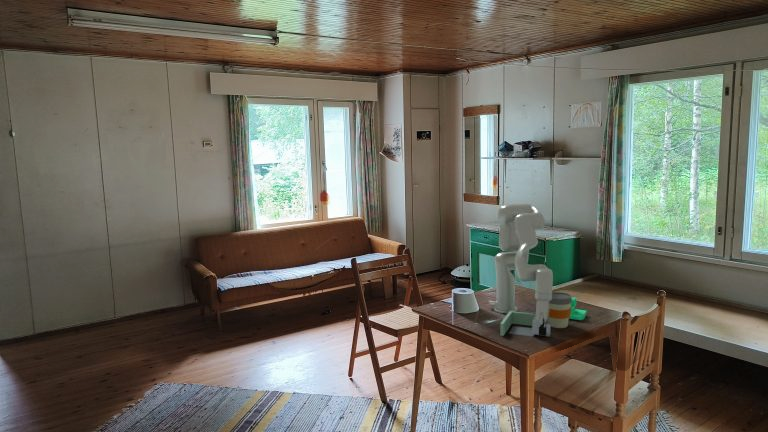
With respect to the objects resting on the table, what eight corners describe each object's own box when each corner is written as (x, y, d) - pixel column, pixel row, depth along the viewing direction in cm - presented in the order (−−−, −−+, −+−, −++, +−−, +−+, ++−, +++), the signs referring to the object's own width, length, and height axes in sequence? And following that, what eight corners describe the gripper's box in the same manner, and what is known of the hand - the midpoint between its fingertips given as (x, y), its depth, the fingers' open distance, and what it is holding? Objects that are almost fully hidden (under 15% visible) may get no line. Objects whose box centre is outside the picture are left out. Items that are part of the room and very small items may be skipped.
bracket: (531, 333, 246) (532, 321, 245) (534, 327, 254) (535, 315, 253) (549, 336, 243) (550, 324, 242) (552, 330, 250) (552, 318, 249)
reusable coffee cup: (577, 327, 256) (577, 297, 254) (554, 330, 252) (554, 300, 250) (561, 319, 268) (561, 290, 266) (539, 322, 264) (539, 293, 262)
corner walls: (500, 335, 248) (500, 323, 247) (509, 322, 266) (509, 310, 265) (534, 340, 241) (534, 327, 241) (541, 326, 259) (541, 314, 259)
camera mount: (580, 322, 264) (581, 302, 262) (565, 319, 268) (565, 300, 267) (586, 315, 274) (587, 296, 272) (571, 313, 278) (572, 294, 276)
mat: (508, 333, 250) (508, 333, 250) (513, 326, 260) (513, 325, 260) (533, 337, 245) (533, 336, 245) (537, 329, 255) (537, 328, 255)
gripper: (538, 289, 251) (537, 327, 254) (532, 299, 237) (531, 338, 240) (554, 291, 248) (553, 329, 251) (549, 301, 234) (548, 341, 236)
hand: (542, 333), depth 245 cm, fingers closed on bracket, 2 cm apart
